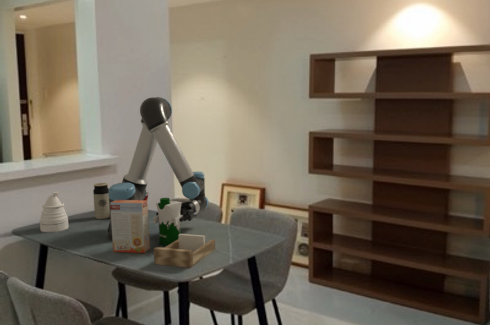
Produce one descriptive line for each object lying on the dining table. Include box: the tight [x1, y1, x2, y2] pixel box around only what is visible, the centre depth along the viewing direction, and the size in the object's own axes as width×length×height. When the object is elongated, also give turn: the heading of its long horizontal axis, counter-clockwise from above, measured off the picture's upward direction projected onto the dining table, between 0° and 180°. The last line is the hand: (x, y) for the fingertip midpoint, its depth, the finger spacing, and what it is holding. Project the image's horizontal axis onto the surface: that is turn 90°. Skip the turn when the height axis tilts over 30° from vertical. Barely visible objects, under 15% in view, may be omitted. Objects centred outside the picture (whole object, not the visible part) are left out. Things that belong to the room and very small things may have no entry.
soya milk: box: [155, 197, 183, 247], centre depth 210 cm, size 9×9×20 cm
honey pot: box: [39, 191, 69, 233], centre depth 241 cm, size 13×13×18 cm
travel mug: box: [92, 182, 110, 220], centre depth 261 cm, size 8×8×18 cm
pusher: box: [179, 233, 206, 253], centre depth 199 cm, size 11×2×7 cm, turn 70°
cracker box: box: [110, 199, 151, 254], centre depth 202 cm, size 14×6×21 cm, turn 77°
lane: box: [153, 239, 216, 269], centre depth 194 cm, size 15×23×6 cm, turn 160°
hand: (164, 221), depth 206 cm, fingers closed on soya milk, 9 cm apart
